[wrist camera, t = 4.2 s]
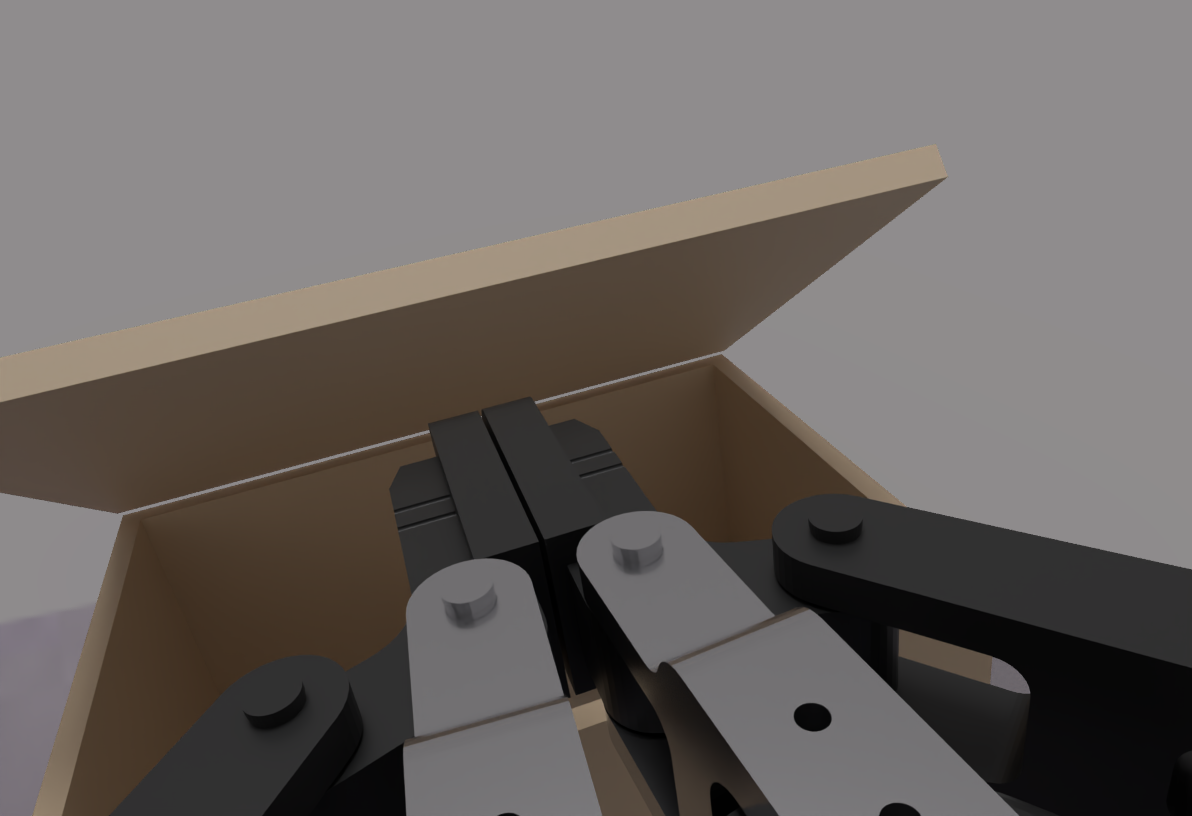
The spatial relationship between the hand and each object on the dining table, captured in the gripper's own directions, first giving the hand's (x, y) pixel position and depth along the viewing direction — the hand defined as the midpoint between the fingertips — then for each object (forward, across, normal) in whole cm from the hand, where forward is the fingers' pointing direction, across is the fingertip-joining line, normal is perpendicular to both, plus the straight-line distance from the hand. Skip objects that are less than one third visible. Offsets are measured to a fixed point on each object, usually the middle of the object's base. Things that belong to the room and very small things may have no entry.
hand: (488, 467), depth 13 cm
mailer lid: (+6, 0, +1) cm, 7 cm away
